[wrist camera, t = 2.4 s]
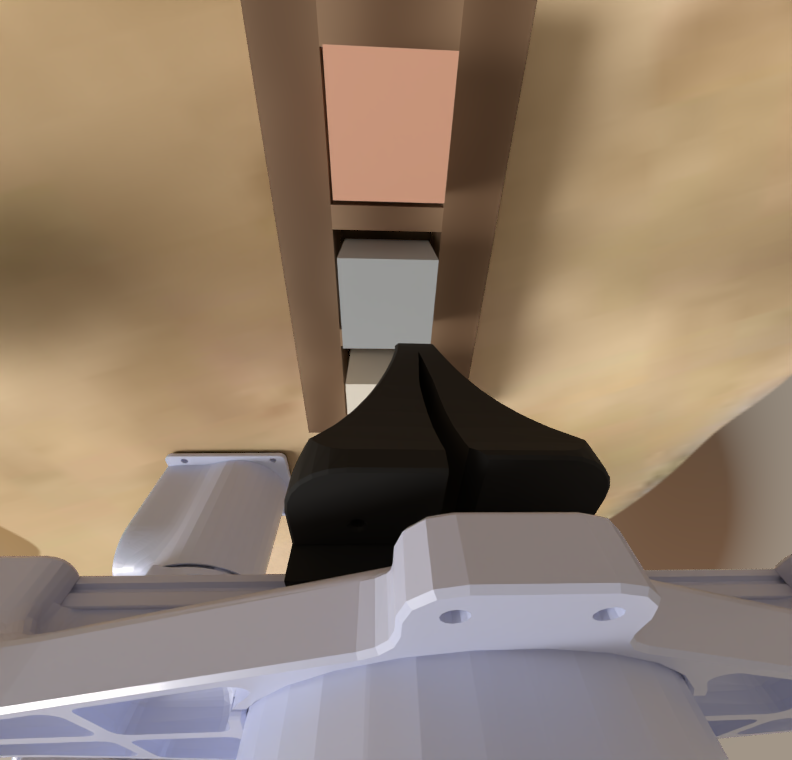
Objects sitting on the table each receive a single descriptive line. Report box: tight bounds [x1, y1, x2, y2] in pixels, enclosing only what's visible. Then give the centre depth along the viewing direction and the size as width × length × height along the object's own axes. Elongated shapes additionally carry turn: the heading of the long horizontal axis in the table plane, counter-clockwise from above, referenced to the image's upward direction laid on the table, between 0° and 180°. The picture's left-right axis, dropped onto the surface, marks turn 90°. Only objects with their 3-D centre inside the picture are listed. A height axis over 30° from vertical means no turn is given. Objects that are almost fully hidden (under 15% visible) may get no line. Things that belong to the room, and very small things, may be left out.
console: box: [241, 0, 537, 432], centre depth 18 cm, size 10×20×3 cm, turn 178°
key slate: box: [337, 239, 439, 349], centre depth 16 cm, size 4×4×4 cm
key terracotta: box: [322, 44, 459, 203], centre depth 12 cm, size 4×4×4 cm
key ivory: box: [346, 349, 395, 414], centre depth 19 cm, size 4×4×4 cm
